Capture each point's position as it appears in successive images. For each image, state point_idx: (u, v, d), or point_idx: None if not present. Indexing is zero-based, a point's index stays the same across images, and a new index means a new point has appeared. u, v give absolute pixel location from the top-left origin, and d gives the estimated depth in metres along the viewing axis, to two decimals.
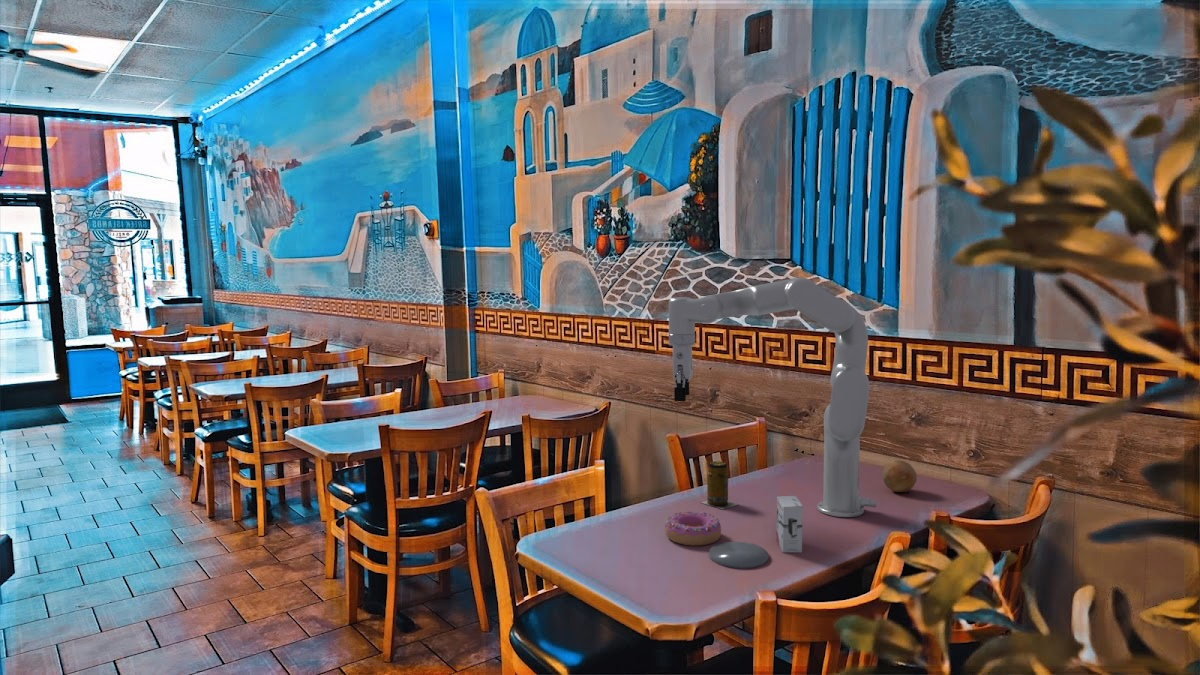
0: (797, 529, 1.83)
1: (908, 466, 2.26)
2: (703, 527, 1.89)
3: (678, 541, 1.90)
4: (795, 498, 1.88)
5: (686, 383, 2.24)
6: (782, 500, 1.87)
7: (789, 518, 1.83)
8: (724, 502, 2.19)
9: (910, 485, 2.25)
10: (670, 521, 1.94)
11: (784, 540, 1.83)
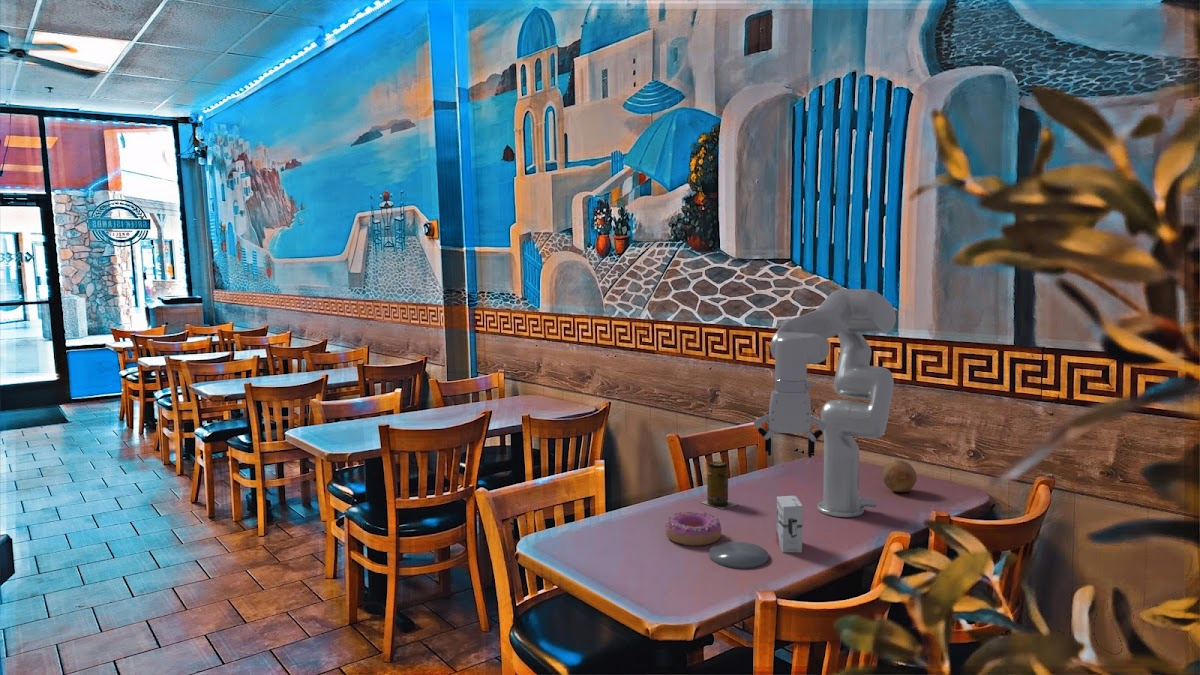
0: (797, 529, 1.83)
1: (908, 466, 2.26)
2: (703, 527, 1.89)
3: (678, 541, 1.90)
4: (795, 498, 1.88)
5: (770, 439, 1.87)
6: (782, 500, 1.87)
7: (789, 518, 1.83)
8: (724, 502, 2.19)
9: (910, 485, 2.25)
10: (670, 521, 1.94)
11: (784, 540, 1.83)
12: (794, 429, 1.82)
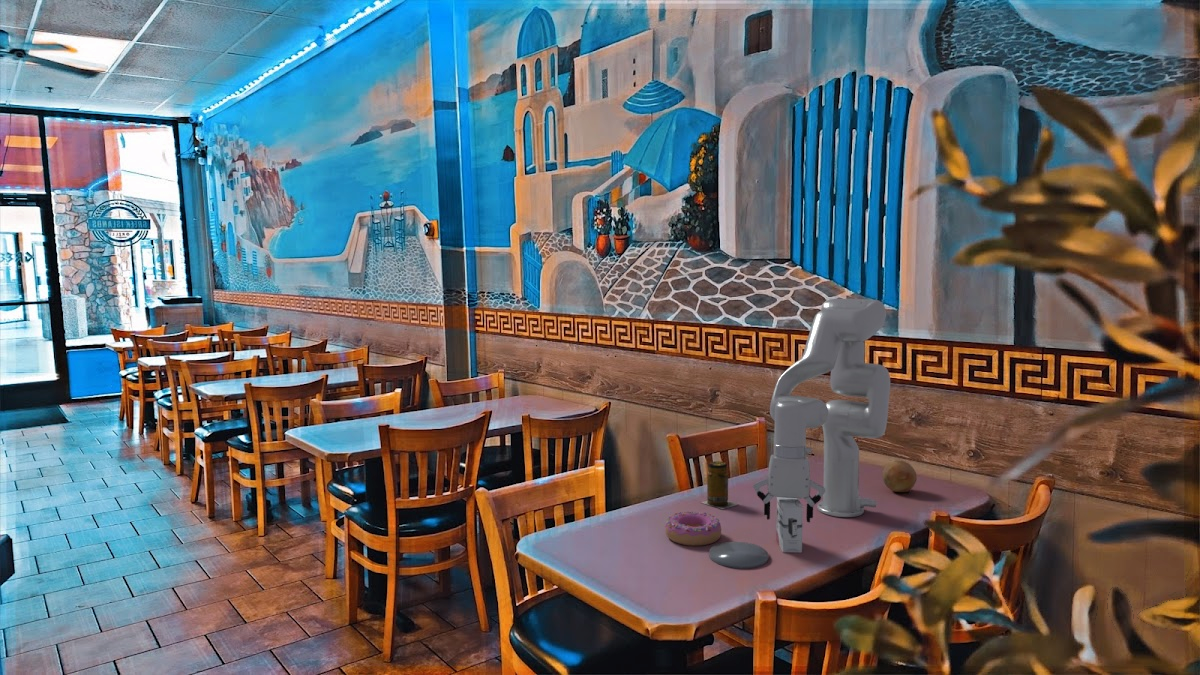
0: (797, 529, 1.83)
1: (908, 466, 2.26)
2: (703, 527, 1.89)
3: (678, 541, 1.90)
4: (795, 498, 1.88)
5: (769, 502, 1.88)
6: (782, 500, 1.87)
7: (789, 518, 1.83)
8: (724, 502, 2.19)
9: (910, 485, 2.25)
10: (670, 521, 1.94)
11: (784, 540, 1.83)
12: (793, 494, 1.84)
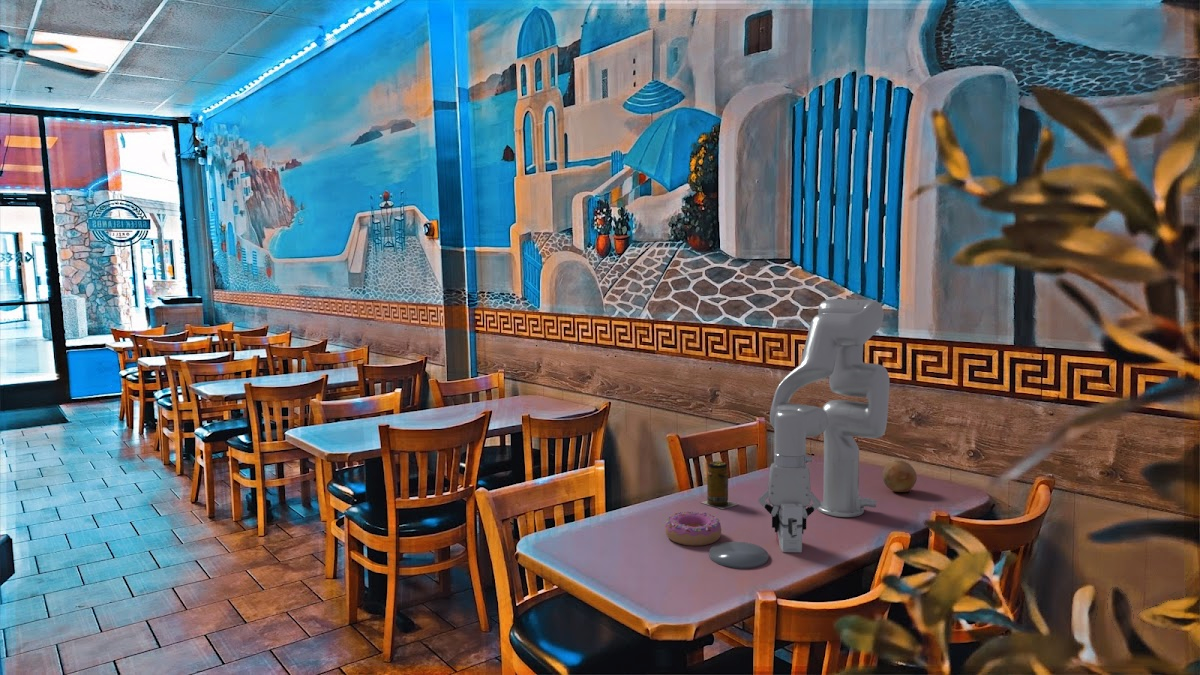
0: (797, 529, 1.83)
1: (908, 466, 2.26)
2: (703, 527, 1.89)
3: (678, 541, 1.90)
4: None
5: (777, 515, 1.88)
6: None
7: (789, 518, 1.83)
8: (724, 502, 2.19)
9: (910, 485, 2.25)
10: (670, 521, 1.94)
11: (784, 540, 1.83)
12: (793, 503, 1.84)
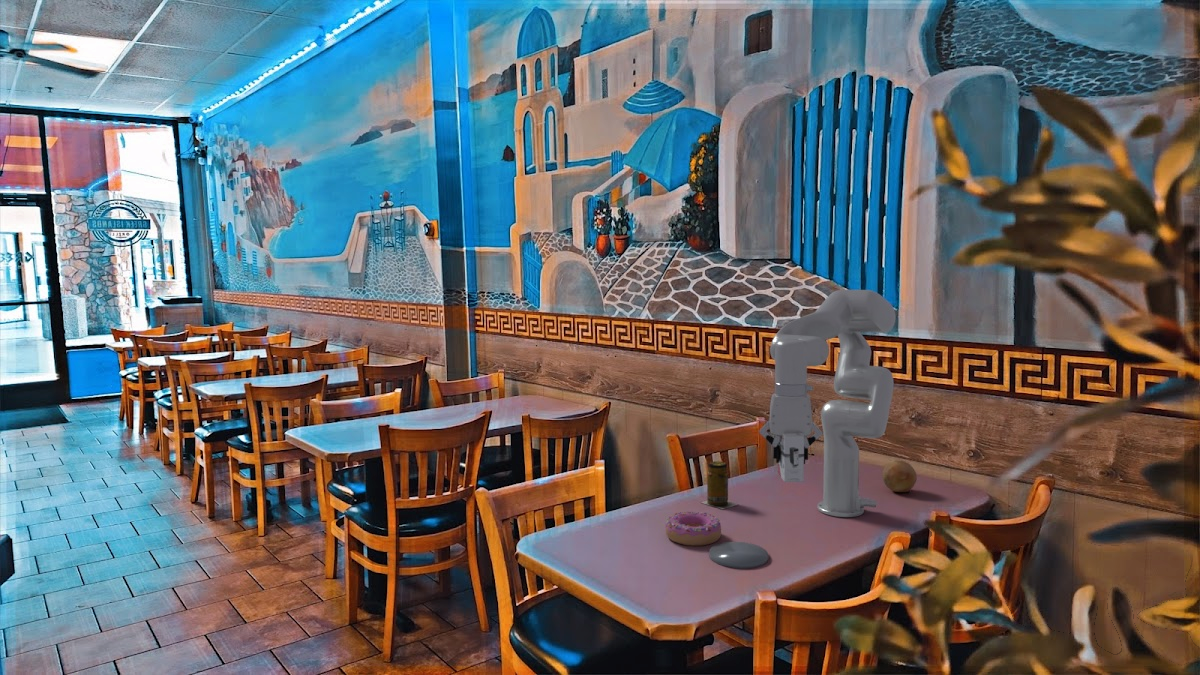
0: (798, 458, 1.81)
1: (908, 466, 2.26)
2: (703, 527, 1.89)
3: (678, 541, 1.90)
4: None
5: (778, 446, 1.87)
6: None
7: (791, 447, 1.81)
8: (724, 502, 2.19)
9: (910, 485, 2.25)
10: (670, 521, 1.94)
11: (785, 470, 1.82)
12: (795, 432, 1.83)
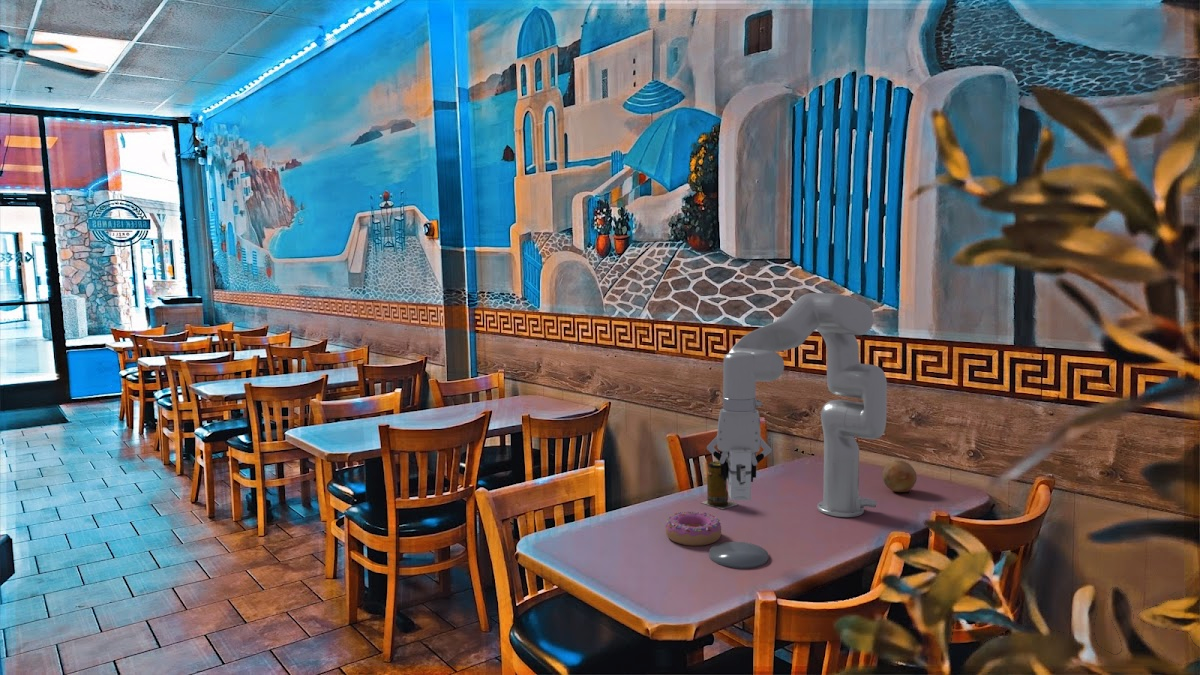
0: (745, 475, 1.75)
1: (908, 466, 2.26)
2: (703, 527, 1.89)
3: (678, 541, 1.90)
4: None
5: (726, 463, 1.81)
6: None
7: (737, 464, 1.75)
8: (724, 502, 2.19)
9: (910, 485, 2.25)
10: (670, 521, 1.94)
11: (732, 487, 1.75)
12: (742, 449, 1.76)
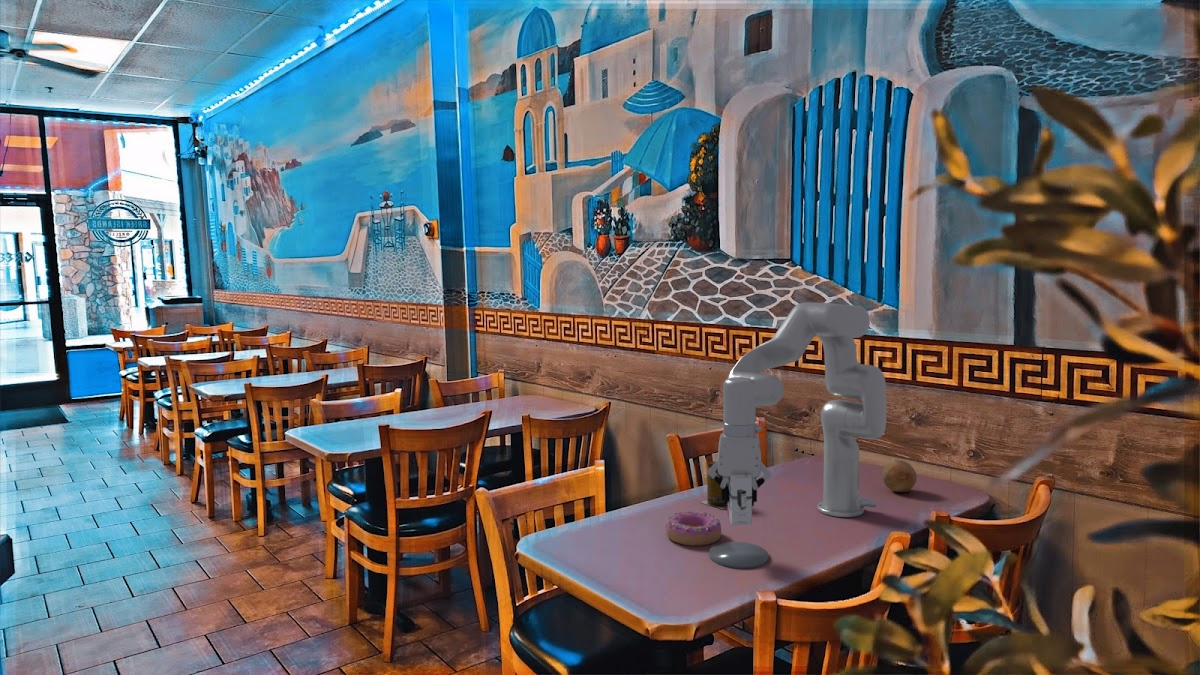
0: (746, 501, 1.76)
1: (908, 466, 2.26)
2: (703, 527, 1.89)
3: (678, 541, 1.90)
4: None
5: (727, 487, 1.81)
6: None
7: (738, 489, 1.76)
8: None
9: (910, 485, 2.25)
10: (670, 521, 1.94)
11: (733, 512, 1.76)
12: (743, 474, 1.77)
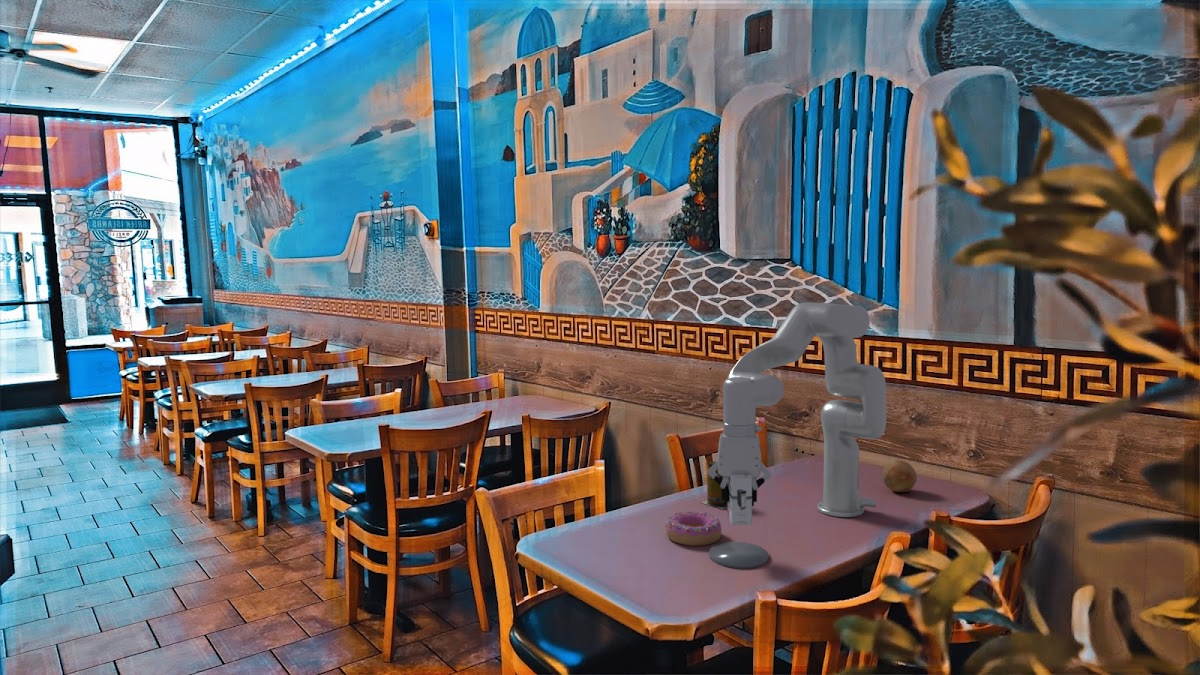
0: (746, 501, 1.76)
1: (908, 466, 2.26)
2: (703, 527, 1.89)
3: (678, 541, 1.90)
4: None
5: (727, 487, 1.81)
6: None
7: (738, 489, 1.76)
8: None
9: (910, 485, 2.25)
10: (670, 521, 1.94)
11: (733, 512, 1.76)
12: (743, 474, 1.77)
